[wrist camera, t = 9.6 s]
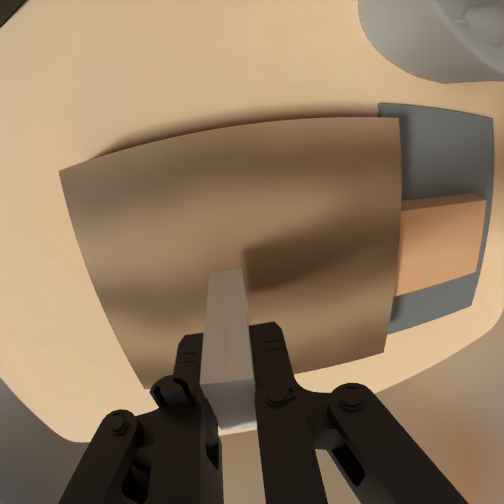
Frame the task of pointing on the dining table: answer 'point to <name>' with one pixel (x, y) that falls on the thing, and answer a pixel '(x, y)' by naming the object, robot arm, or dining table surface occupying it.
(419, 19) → the lumpy-topped squat cylinder
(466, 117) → the mat
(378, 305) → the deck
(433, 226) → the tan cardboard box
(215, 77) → the dining table surface
